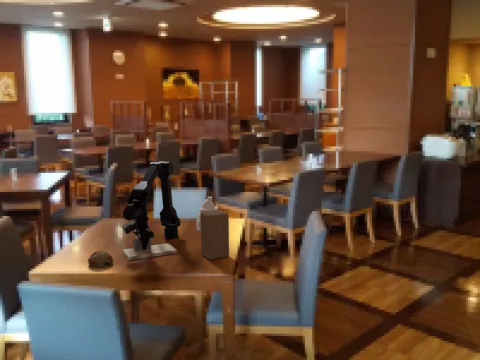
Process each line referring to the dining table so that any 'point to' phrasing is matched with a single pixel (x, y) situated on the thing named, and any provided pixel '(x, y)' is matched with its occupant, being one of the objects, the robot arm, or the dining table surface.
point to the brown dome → (100, 259)
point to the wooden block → (214, 234)
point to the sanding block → (140, 246)
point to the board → (150, 252)
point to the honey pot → (205, 206)
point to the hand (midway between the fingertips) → (142, 248)
